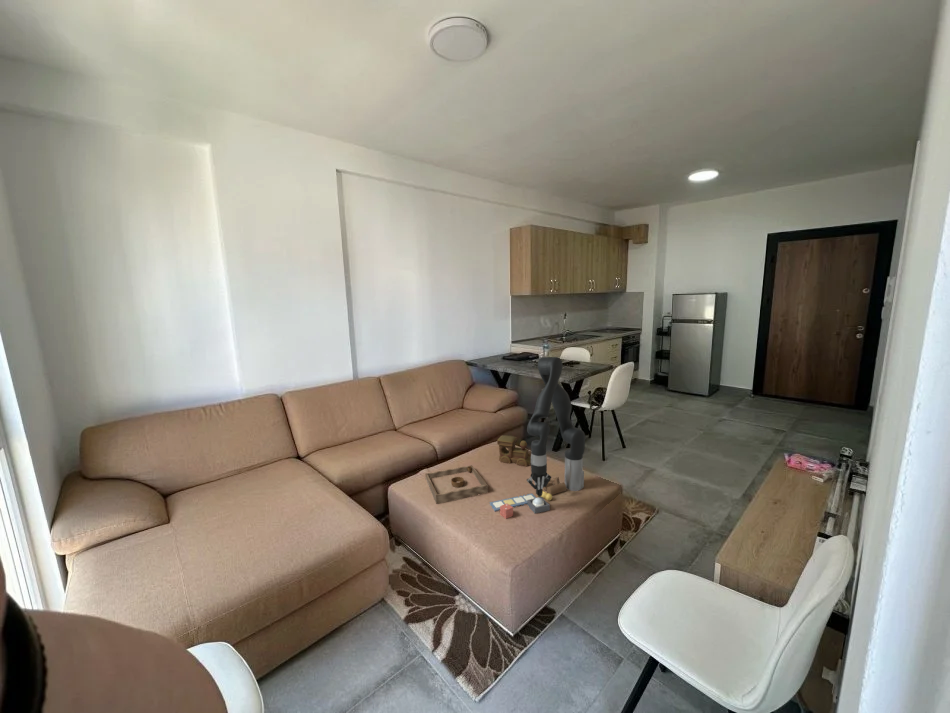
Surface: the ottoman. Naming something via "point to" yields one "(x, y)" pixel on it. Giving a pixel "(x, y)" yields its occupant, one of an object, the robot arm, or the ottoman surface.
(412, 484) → the ottoman surface
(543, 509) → the base
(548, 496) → the pawn
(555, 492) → the wooden block set
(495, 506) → the board
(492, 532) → the ottoman surface
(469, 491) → the serving frame
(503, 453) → the wooden toy train
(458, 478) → the place setting
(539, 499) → the dome
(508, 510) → the die
